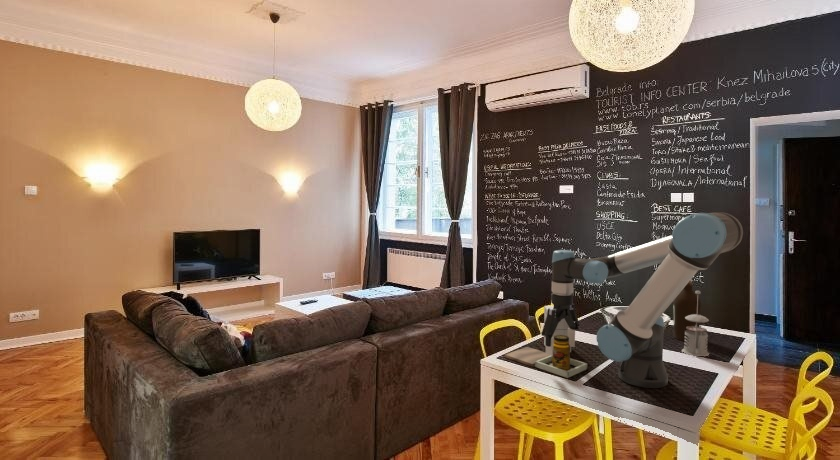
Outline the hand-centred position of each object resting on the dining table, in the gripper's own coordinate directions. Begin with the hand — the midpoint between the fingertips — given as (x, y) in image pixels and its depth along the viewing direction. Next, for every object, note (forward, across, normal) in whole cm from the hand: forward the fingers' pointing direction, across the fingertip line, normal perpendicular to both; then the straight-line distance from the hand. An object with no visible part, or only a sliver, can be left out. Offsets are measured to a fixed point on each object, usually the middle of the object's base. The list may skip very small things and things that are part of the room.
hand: (560, 350), depth 167 cm
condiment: (+7, 0, 0) cm, 7 cm away
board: (+7, 0, -14) cm, 15 cm away
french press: (+6, -53, +26) cm, 60 cm away
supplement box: (+7, -17, -12) cm, 22 cm away
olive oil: (+6, -70, +16) cm, 72 cm away
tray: (+6, 0, 0) cm, 6 cm away
